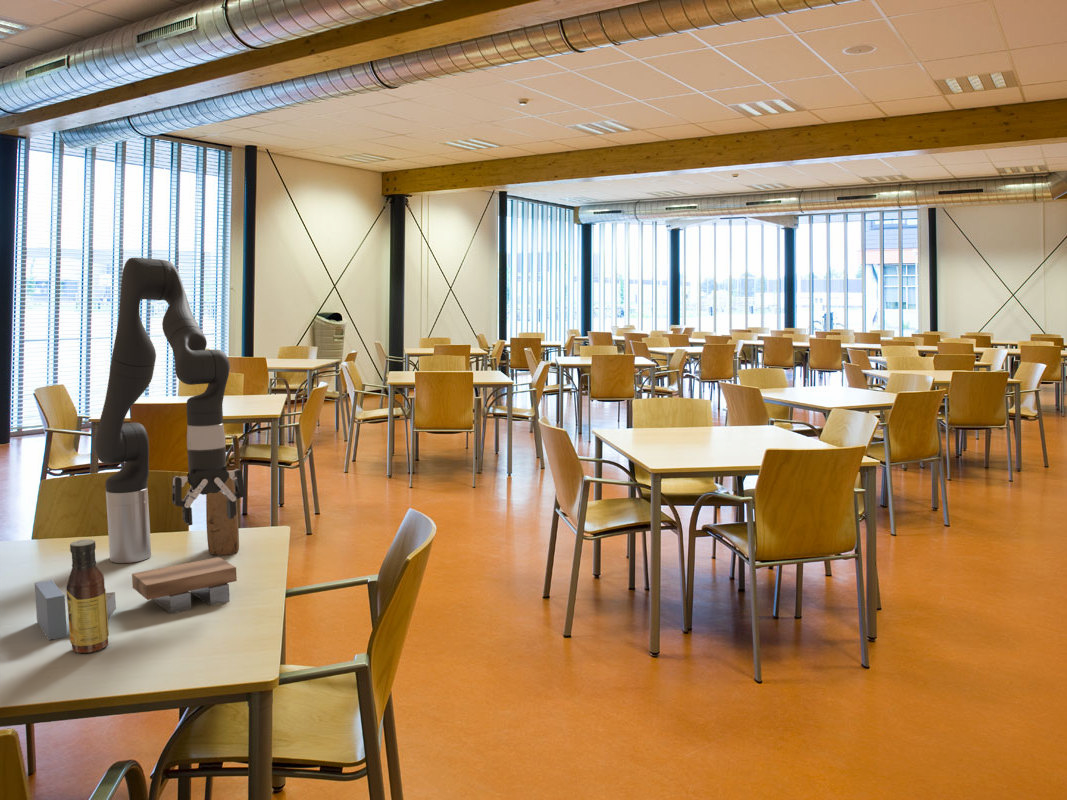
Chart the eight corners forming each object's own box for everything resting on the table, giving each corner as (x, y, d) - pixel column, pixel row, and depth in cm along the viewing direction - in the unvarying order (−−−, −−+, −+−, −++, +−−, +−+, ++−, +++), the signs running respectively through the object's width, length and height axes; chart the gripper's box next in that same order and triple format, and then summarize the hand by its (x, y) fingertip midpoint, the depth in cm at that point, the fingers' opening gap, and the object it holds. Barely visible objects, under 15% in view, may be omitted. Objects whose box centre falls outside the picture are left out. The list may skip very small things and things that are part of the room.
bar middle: (152, 600, 186) (151, 582, 185) (171, 596, 188) (170, 578, 188) (171, 616, 176) (170, 596, 176) (191, 611, 179) (190, 592, 179)
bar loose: (94, 611, 179) (93, 593, 178) (116, 610, 180) (115, 592, 179) (77, 633, 167) (76, 613, 167) (100, 631, 168) (99, 612, 168)
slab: (132, 587, 182) (131, 573, 181) (219, 570, 193) (218, 556, 193) (147, 600, 174) (146, 585, 174) (236, 581, 186) (236, 567, 185)
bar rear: (190, 593, 190) (189, 575, 190) (208, 589, 193) (207, 571, 193) (210, 607, 181) (209, 588, 181) (229, 603, 184) (228, 584, 183)
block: (239, 555, 218) (236, 475, 216) (207, 558, 215) (203, 477, 213) (239, 544, 228) (235, 468, 226) (208, 546, 225) (204, 470, 223)
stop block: (37, 622, 172) (34, 582, 171) (54, 618, 174) (51, 579, 173) (49, 640, 163) (46, 598, 162) (67, 636, 165) (64, 595, 164)
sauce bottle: (79, 642, 162) (73, 536, 160) (115, 641, 162) (108, 535, 160) (64, 656, 155) (56, 546, 153) (100, 655, 156) (93, 545, 154)
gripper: (234, 440, 191) (238, 513, 193) (165, 446, 182) (170, 523, 184) (246, 444, 185) (249, 519, 187) (175, 451, 176) (179, 530, 178)
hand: (210, 521), depth 185 cm, fingers open, 8 cm apart
